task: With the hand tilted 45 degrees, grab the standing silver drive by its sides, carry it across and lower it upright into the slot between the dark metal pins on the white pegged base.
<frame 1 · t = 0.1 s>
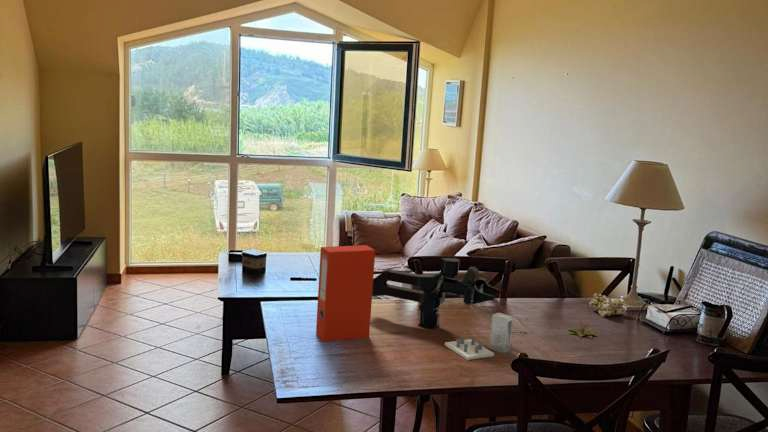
hand: (497, 295, 242), 17 cm above the table, tool horizontal, fingers open, 9 cm apart
drive: (499, 349, 234), on the table
file binder: (342, 336, 237), on the table
olive green spiky piece: (582, 335, 258), on the table
white pegged base: (468, 350, 231), on the table
mineral formation: (604, 313, 287), on the table
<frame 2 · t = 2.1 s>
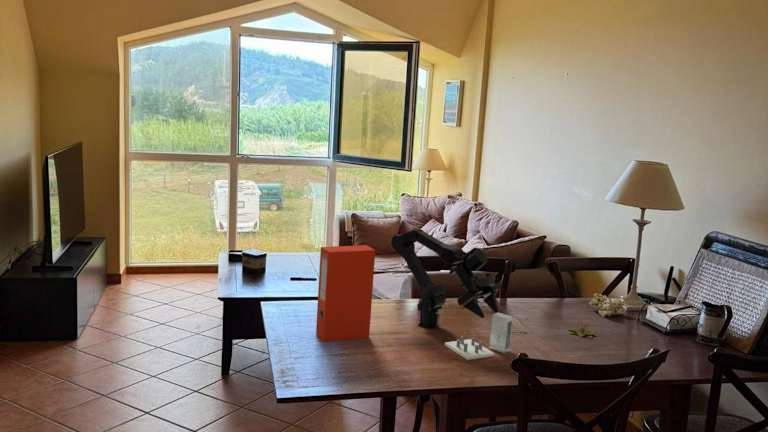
hand: (490, 315, 235), 11 cm above the table, tool tilted 45°, fingers open, 9 cm apart
nothing on the table moved.
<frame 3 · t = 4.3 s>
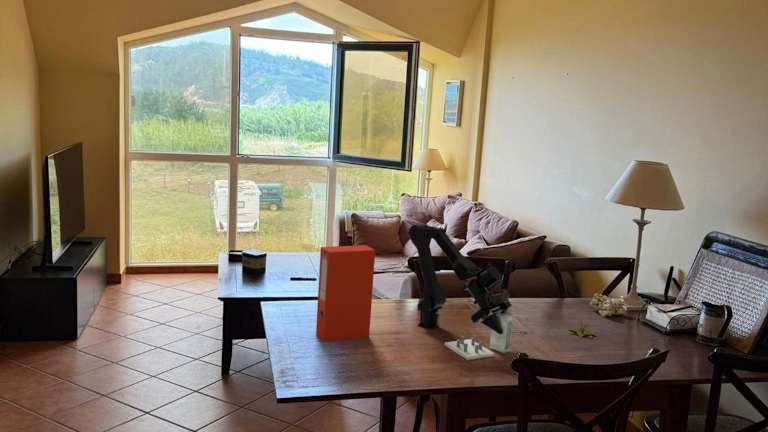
hand: (504, 332, 232), 7 cm above the table, tool tilted 45°, fingers closed on drive, 4 cm apart
drive: (499, 349, 234), on the table, touching gripper
everything else where it was.
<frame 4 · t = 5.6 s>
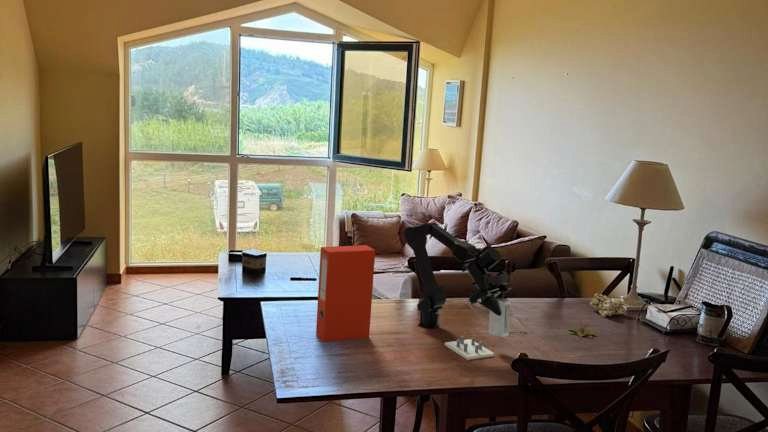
hand: (503, 314, 230), 13 cm above the table, tool tilted 45°, fingers closed on drive, 3 cm apart
drive: (498, 334, 233), point 6 cm above the table, touching gripper
everything else where it was.
when the fingers open (9 cm above the table, at t = 7.6 s): drive stays where it is, resting on white pegged base.
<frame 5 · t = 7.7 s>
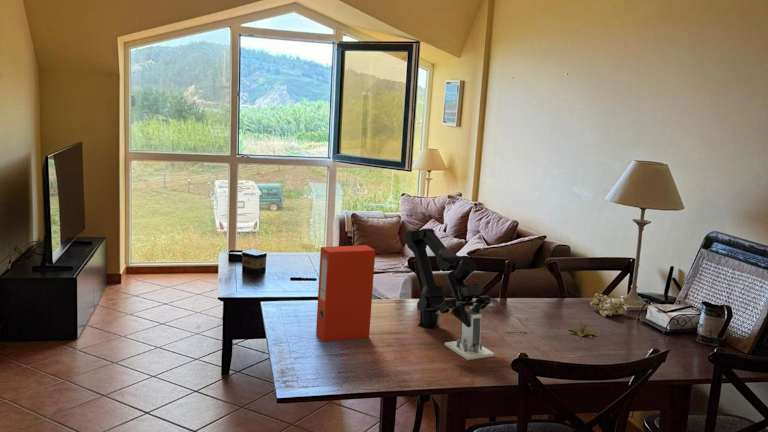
hand: (473, 326, 228), 9 cm above the table, tool tilted 45°, fingers open, 4 cm apart
drive: (470, 347, 230), point 1 cm above the table, touching white pegged base
everything else where it was.
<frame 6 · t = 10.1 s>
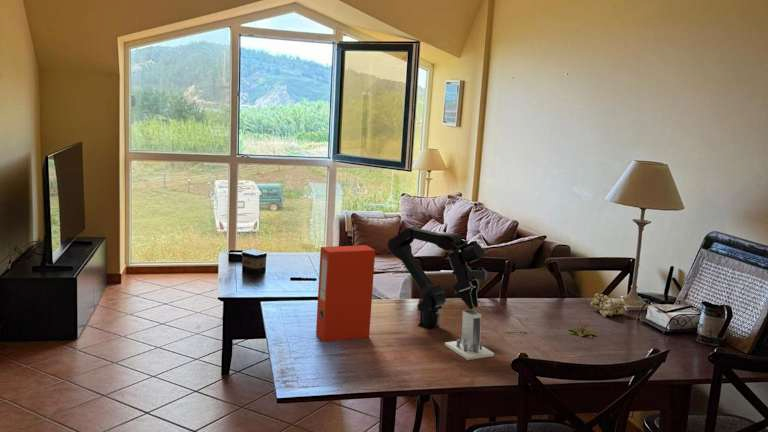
hand: (474, 307, 240), 12 cm above the table, tool tilted 30°, fingers open, 9 cm apart
nothing on the table moved.
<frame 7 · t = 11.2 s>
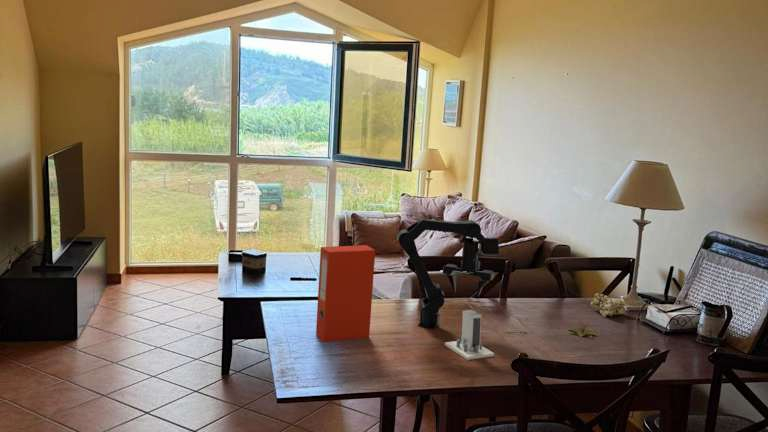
hand: (466, 294, 253), 13 cm above the table, tool pointing down, fingers open, 9 cm apart
nothing on the table moved.
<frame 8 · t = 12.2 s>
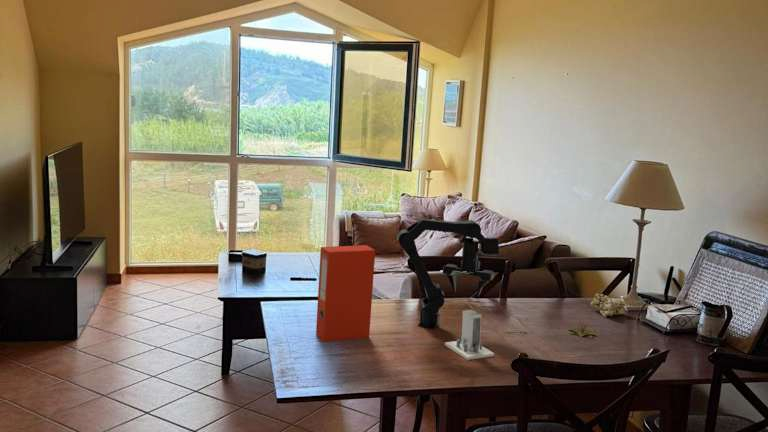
hand: (466, 294, 253), 13 cm above the table, tool pointing down, fingers open, 9 cm apart
nothing on the table moved.
at the end: drive 0.8 cm off-centre on the white pegged base, point 1.2 cm above the white pegged base's base; drive tilted 5°; the gripper is holding nothing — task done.
